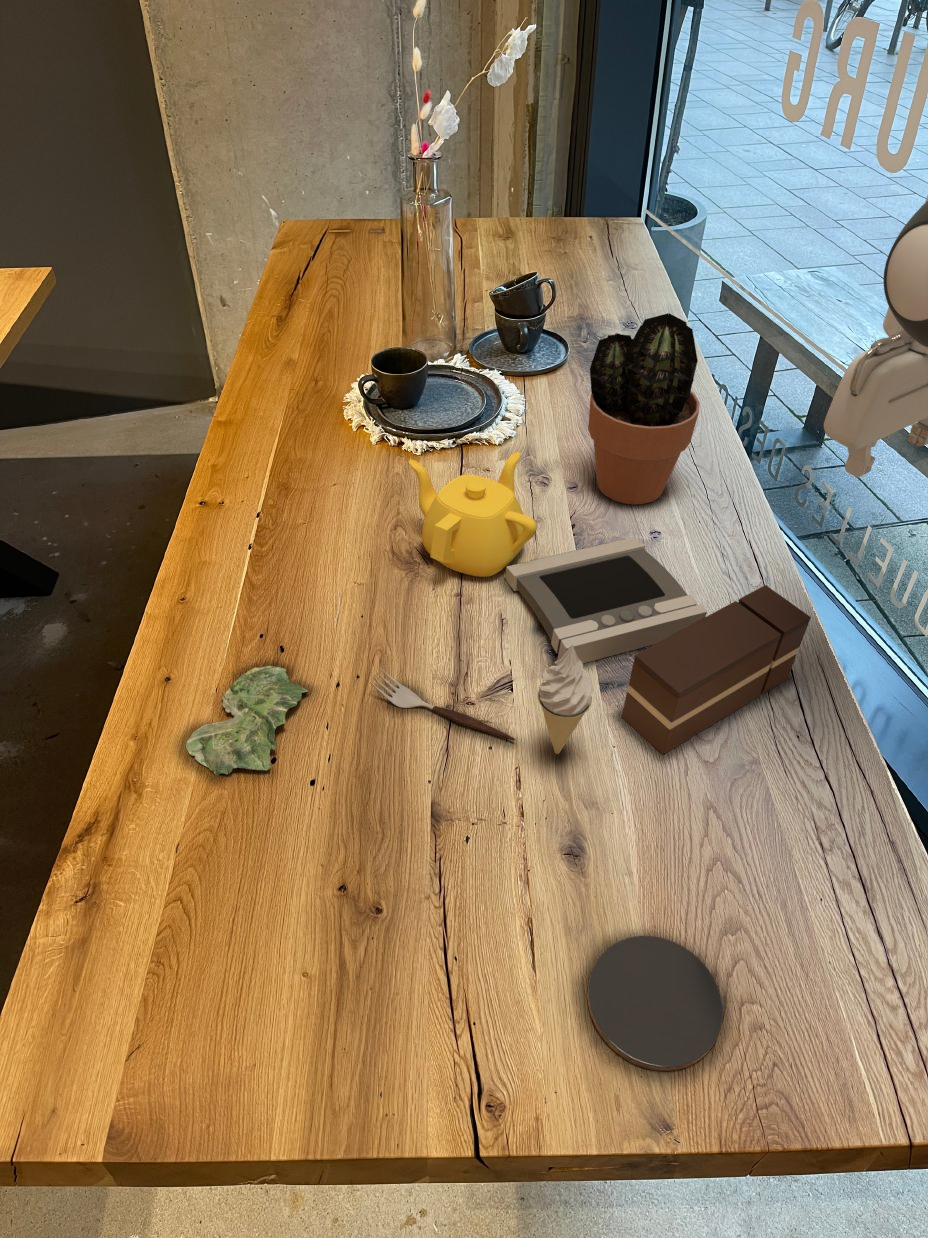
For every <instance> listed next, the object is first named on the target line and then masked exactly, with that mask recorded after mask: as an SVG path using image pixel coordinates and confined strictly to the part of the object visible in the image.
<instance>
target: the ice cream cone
mask: <svg viewBox="0 0 928 1238" xmlns="http://www.w3.org/2000/svg"><path fill="white" fill-rule="evenodd" d="M554 664H555V665H551V666H549V667H548V669H549V670H550V673H546V672H544V673H542V675H541V677H542V680H543V681H544V682H541V683H540V684H539V686H538V691H537V700H538V703H539V705H540V706H541V710H542V713H543V717H544V721H545V725H546V727H547V730H548V735H549V738H550V741H551V744H552V748H553V751H554V754H555V755H560V752H561V751H562V750H563V748H564V746H565V745H566V744H567V742H568V740H569V739H570V737H571V736H572V734H573V733H574V731H575V730H576V728H577V726H578V724H580V721H581V720H582V719H583V716H584V715H585V714H586V713H587V712H588V711H589V709H590V708H591V707H592V703H593V679H592V678H591V677H590V675H589V673H588V672H587V671H586V669H584V663H582V662H581V661H580V660H579V659H578V657H577V654H576V652H575V650H574V647H573V645H571V647H570V648H569V649H568V650H567V651H566V653H565V654H564V655H563V656H562V658H561V659H560V660H558V661H557V660H556V661H554Z"/></svg>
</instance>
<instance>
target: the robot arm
mask: <svg viewBox="0 0 928 1238" xmlns="http://www.w3.org/2000/svg"><path fill="white" fill-rule="evenodd" d="M883 291H884V292H883V293H884V296H885V300H886V302H887V305H888V307H887V310H886V313H885V316H884V319H883V322H882V329H883V331H884V333H885V334H886V335H887V336H888V337H881V338H879V339H876V340H875V341H874V342H873V343H871V345H870V348H869V349H868V350H865V351H863V352H861V353H859V354H858V355H857V356H855V357H854V359H853V360H852V361H851V362H850V363H849V365H848V367H847V368H846V370H845V372H844V374H843V376H842V378H841V380H840V381H839V384H838V387H837V388H836V391H835V393H834V396H833V398H832V400H831V403H830V406H829V408H828V410H827V413H826V416H825V419H824V422H823V430H824V433H825V435H826V436H827V437H828V438H830V439H831V440H833V441H835V442H836V443H838V444H840V445H842V446H844V447H846V448H847V452H848V457H847V458H846V459H847V460H846V462H845V465H844V470H845V471H846V473H848V474H849V475H851V476H853V477H854V478H861V477H862V476H864V475H866V474H868V473H870V472H871V471H872V468H873V465H874V463H875V461H876V457H875V456H873V455H872V448H874V447H876V446H877V443H878V441H879V440H881V439H883V438H885V437H888V436H890V435H892V434H894V433H896V432H899V431H901V430H903V429H905V428H907V427H910V426H911V425H912V426H911V428H910V431H909V434H908V436H907V440H908V442H909V443H910V444H913V445H915V446H916V447H918V448H921V447H924V446H926V445H928V195H927V196H926V199H925V201H924V203H923V204H922V205H921V206H920V207H919V208H918V210H917V211H916V212H915V213H914V214H913V215H912V216H911V217H910V218H909V220H908V221H907V222H906V224H905V225H904V226H903V227H902V229H901V230H900V232H899V233H898V236H897V237H896V238H895V240H894V242H893V244H892V246H891V248H890V251H889V253H888V255H887V258H886V261H885V265H884V271H883Z"/></svg>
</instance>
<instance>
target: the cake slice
mask: <svg viewBox="0 0 928 1238" xmlns="http://www.w3.org/2000/svg"><path fill="white" fill-rule="evenodd" d="M737 602H738V603H739V604H741V605H742V606H743V607H745V608H746V609H747V610H749V611H750V612H752V613H753V614H754V615H756V616H757V617H758V618H760V619H761V620H762V621H764V622H765V623H766V624H768V625H769V626H770V627H772V628H773V629H775V630H776V631H777V632H779V633H780V634H781V637H780V640H779V642H778V645H777V648H776V650H775V653H774V656H773V659H772V662H771V664H770V667H769V670H768V673H767V676H766V679H765V682H764V684H763V687H762V690H761V693H760V694H762V695H763V694H766V693H767V692H769V691H770V690H772V689H774V688H775V687H777V686H778V685H780V684H782V683H783V682H785V681H787V680H788V679H789V676H790V674H791V671H792V669H793V667H794V663H795V661H796V658H797V655H798V653H799V650H800V647H801V645H802V642H803V640H804V637H805V636H806V635H805V634H806V632H807V629H808V627H809V624H810V621H811V618H812V617H811V616H810V615H809V614H807V612H805V611H804V610H802V609H800V608H799V607H798V606H796V605H795V604H793V602H791V601H790V600H788V599H786V598H785V597H784V596H782V595H781V594H780V593H778V592H777V591H775V590H774V589H772V588H771V587H769V586H768V585H766V584H764V585H763V586H761V587H759V588H757V589H754V590H753V591H751V592H750V593H748V594H746V595H743V596H741V597H740V598H739V599H738V601H737Z"/></svg>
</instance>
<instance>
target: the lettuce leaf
mask: <svg viewBox="0 0 928 1238" xmlns="http://www.w3.org/2000/svg"><path fill="white" fill-rule="evenodd" d="M289 677H290V676H288V675H287V669H286V668H282V667H280V666H272V665H265V666H260V667H252V668H251V669H249V670H247V672H246V673H244V672H243V673H242V674H240V677H238V678H237V679H236V680H235V681H234V683H232V685H231V686H230V687H229V688H228V689H227V690H226V691H225V693H224V694H223V696H222V697H221V699H222V700H223V701H222V707H223V708H224V709H225V712H226V713H231V715H232V716H233V717H232V718H230V719H228V720H221V721H216V722H212V723H207V724H204V725H202V726H200V727H199V728H197V729H195V730H194V731H193V732H192V734H191V735H190V737H188V739H187V741H186V744H185V748H186V751H187V752H188V754H189V755H191V757H193V756H194V759H195V761H197V762H198V763H199V764H201V765H202V766H205V767H206V768H208V769H209V771H210V772H213V774H214V775H215V777H219V775H220V774H225V775H226V776H227V775H230V773H232V771H233V769H238V768H239V769H246V770H255V771H268V770H270V769H271V768H272V766H271V754H270V753H271V750H273V751H276V750H277V748H278V746H277V744H276V735H275V733H276V732H275V731H276V729H277V727H279V726H281V725H285V724H286V723H287V721H286V714H287V712H288V710H289V709H291V708H293V707H296V706H297V705H298V702H299V701H301V700H302V695H303V693H307V692H308V693H309V690H308V689H307V688H306V687H302V686H301V685H300V684H296V683H293V682H292V681H290V679H289Z"/></svg>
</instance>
